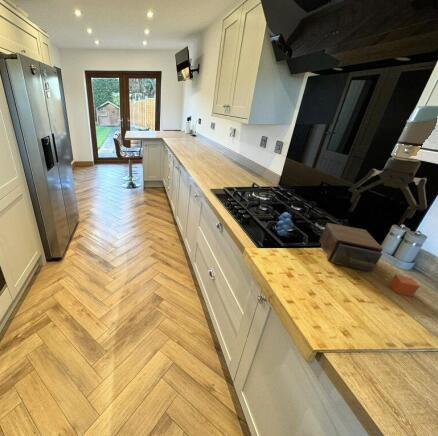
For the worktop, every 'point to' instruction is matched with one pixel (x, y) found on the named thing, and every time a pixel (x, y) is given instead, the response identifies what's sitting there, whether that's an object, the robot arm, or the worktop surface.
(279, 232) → the grapes
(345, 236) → the cabinet
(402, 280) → the block
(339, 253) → the drawer
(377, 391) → the worktop surface
